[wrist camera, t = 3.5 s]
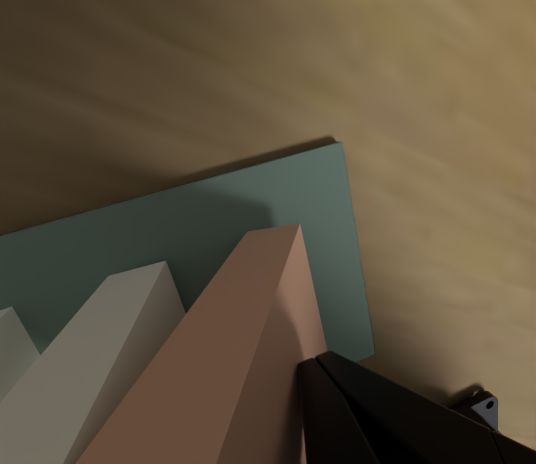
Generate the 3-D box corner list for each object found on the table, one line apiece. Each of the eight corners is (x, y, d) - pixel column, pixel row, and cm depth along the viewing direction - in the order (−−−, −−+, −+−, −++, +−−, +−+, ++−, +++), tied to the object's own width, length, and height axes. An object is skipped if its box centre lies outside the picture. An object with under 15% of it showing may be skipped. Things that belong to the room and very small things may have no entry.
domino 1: (327, 349, 12) (302, 755, 4) (280, 351, 12) (188, 717, 5) (299, 223, 10) (191, 532, 3) (247, 231, 11) (39, 512, 3)
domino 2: (212, 384, 11) (174, 899, 4) (163, 398, 11) (23, 947, 4) (166, 260, 10) (-67, 716, 2) (108, 275, 10) (-337, 797, 2)
